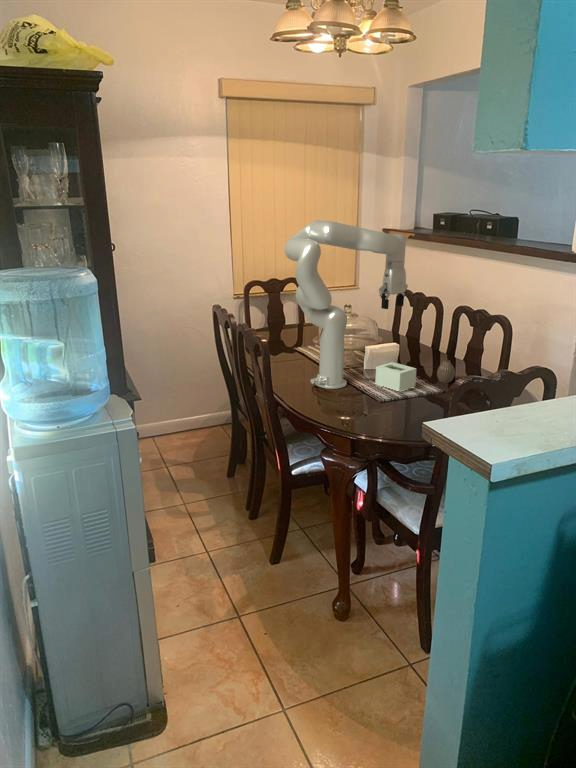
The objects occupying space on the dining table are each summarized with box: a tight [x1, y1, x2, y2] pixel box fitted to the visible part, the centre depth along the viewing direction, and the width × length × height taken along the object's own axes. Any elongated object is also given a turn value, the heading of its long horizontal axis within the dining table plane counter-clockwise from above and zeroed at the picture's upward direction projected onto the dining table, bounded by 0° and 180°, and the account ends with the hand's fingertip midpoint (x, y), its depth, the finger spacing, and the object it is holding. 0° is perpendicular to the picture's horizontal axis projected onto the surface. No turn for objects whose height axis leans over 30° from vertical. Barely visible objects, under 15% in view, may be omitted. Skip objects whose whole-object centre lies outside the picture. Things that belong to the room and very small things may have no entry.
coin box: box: [374, 361, 417, 391], centre depth 224 cm, size 10×12×8 cm
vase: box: [436, 359, 456, 384], centre depth 230 cm, size 7×7×9 cm
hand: (392, 307), depth 234 cm, fingers open, 9 cm apart
